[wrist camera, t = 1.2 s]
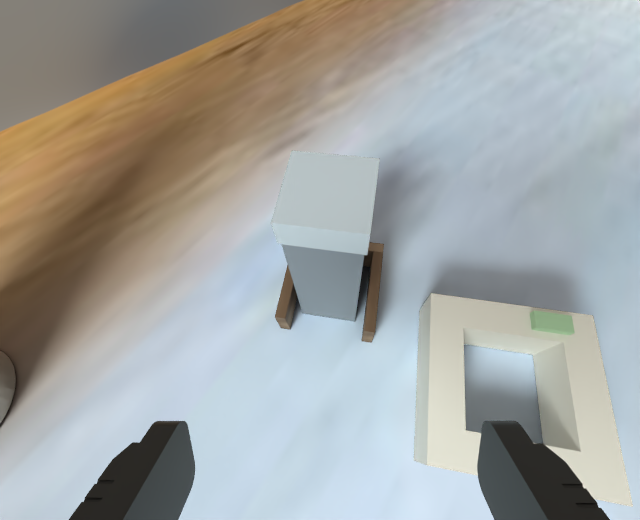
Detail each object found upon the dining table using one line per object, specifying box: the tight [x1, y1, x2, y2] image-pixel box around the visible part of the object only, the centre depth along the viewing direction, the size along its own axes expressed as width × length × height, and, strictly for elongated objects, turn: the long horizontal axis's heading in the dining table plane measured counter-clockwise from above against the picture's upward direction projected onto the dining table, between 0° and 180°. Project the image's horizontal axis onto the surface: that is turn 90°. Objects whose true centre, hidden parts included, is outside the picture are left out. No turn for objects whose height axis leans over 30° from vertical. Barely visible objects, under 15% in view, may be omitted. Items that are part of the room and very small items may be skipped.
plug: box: [271, 151, 380, 321], centre depth 23 cm, size 5×5×14 cm
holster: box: [275, 242, 384, 342], centre depth 28 cm, size 8×8×3 cm
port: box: [414, 293, 633, 507], centre depth 23 cm, size 11×11×5 cm
